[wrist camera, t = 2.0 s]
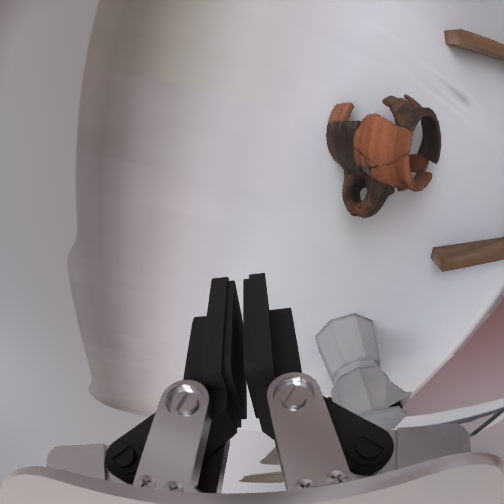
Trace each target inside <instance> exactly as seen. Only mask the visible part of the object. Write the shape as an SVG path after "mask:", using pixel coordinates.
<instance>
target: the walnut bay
mask: <svg viewBox="0 0 504 504" xmlns="http://www.w3.org/2000/svg"><path fill="white" fill-rule="evenodd" d="M444 32H445V41H446V44H449V45H453V46H457V47H461V48H464V49H468V50H471V51H475V52H478V53H481V54H484V55H487V56H490V57H493V58H496V59H499V60H502V61H504V44H502V43H499V42H497V41H494V40H491V39H489V38H486V37H483V36H480V35H477V34H475V33H472V32H468V31H465V30H462V29H459V30H446V31H444ZM431 258H432V260H433V261H434V262H435V263H436V265H437V266H438V267H439V268H440V270H441V271H442V272H443V271H449V270H454V269H459V268H464V267H469V266H474V265H479V264H484V263H489V262H494V261H499V260H503V259H504V237H502V238H496V239H489V240H482V241H476V242H469V243H462V244H455V245H448V246H441V247H434V248H433V251H432V256H431Z"/></svg>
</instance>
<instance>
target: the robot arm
mask: <svg viewBox="0 0 504 504" xmlns="http://www.w3.org/2000/svg"><path fill="white" fill-rule="evenodd" d="M246 381H247V385H248V389H249V393H250V397H251V400H252V404H253V408H254V412H255V416H256V418H259V420H260V424H261V428H262V431H263V432H264V433H265V434H267V435H268V436H269V437H271V438H272V439H274V440H275V444H276V449H277V453H278V457H279V461H280V466H281V470H282V474H283V478H284V482H285V486H286V490H287V491H280V492H267V493H246V494H245V493H243V494H221V490H222V484H223V479H224V473H225V468H226V462H227V457H228V450H229V445H230V438H232V437H233V436H234V435H235V434H236V433H237V428H239V427H241V419H247V390H246ZM0 504H504V461H503V460H502V459H501V458H500V457H498V456H496V455H493V454H490V453H482V452H471V447H470V437H469V434H468V431H467V430H466V429H465V428H464V427H463V426H461V425H459V424H453V423H450V424H442V425H432V426H421V427H405V428H398V429H397V430H384V429H383V428H381V427H379V426H377V425H375V424H374V423H372V422H370V421H368V420H366V419H364V418H362V417H360V416H358V415H357V414H355V413H353V412H351V411H349V410H347V409H345V408H344V407H342V406H340V405H338V404H337V403H335V402H333V401H331V400H329V399H328V398H326V397H324V396H323V395H322V392H321V390H320V387H319V385H318V384H317V382H316V380H314V379H313V378H312V377H311V376H309V375H306V374H304V373H302V370H301V364H300V358H299V352H298V346H297V340H296V334H295V328H294V322H293V317H292V311H291V308H285V309H276V310H269V304H268V295H267V287H266V278H265V273H260V274H251V275H249V279H244V281H243V320H242V315H241V310H240V305H239V300H238V295H237V290H236V285H235V281H229V278H228V277H223V278H213V279H212V281H211V289H210V296H209V304H208V311H207V316H203V317H194V319H193V323H192V329H191V335H190V341H189V347H188V353H187V359H186V366H185V372H184V379H183V380H181V381H177V382H175V383H173V384H171V385H170V386H168V388H167V389H166V390H165V391H164V392H163V394H162V396H161V398H160V401H159V404H158V407H157V410H156V412H155V413H154V414H153V415H151V416H150V417H148V418H147V419H146V420H144V421H143V422H142V423H140V424H139V425H137V426H136V427H135V428H133V429H132V430H130V431H129V432H127V433H126V434H125V435H123V436H122V437H120V438H119V439H117V440H116V441H115V442H113V443H112V444H111V445H108V446H105V445H104V444H91V445H72V446H58V447H55V448H54V449H52V450H51V451H50V453H49V454H48V458H47V467H42V466H32V467H25V468H21V469H18V470H15V471H13V472H11V473H10V474H9V475H8V476H7V477H6V479H5V481H4V482H3V484H2V487H1V490H0Z"/></svg>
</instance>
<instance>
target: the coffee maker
mask: <svg viewBox="0 0 504 504" xmlns="http://www.w3.org/2000/svg"><path fill="white" fill-rule="evenodd" d="M316 340H317V344H318V349H319V352H320V354H321V356H322V359H323V361H324V363H325V365H326V368H327V370H328V372H329V375H330V377H331V379H332V382H333V384H334V388H333V389H332V391H331V392H332V398H331V397H328V399H329V400H331V401H333V402H335V403H337V404H338V405H340V406H342V407H344V408H345V409H347V410H349V411H351V412H353V413H355V414H357V415H358V416H360V417H362V418H364V419H366V420H368V421H370V422H372V423H374V424H375V425H377V426H379V427H381V428H383V429H384V430H391V429H393V428H395V427H396V426H397V425H398V424H399V423H400V421H401V420H402V419H403V418H404V417H405V416H406V415H407V412H406V410H405V409H404V407H405V405H406V403H407V401H408V399H409V397H410V396H411V394H412V392H405V391H403V390H402V389H401V388H399V387H398V386H396V385H395V384H394V383H392V382H391V381H390V380H389V378H388V376H387V375H386V374H385V373H384V372H383V371H382V370H381V368H380V358H379V353H378V347H377V342H376V337H375V332H374V327H373V322H372V320H370V319H368V318H365V317H363V316H360V315H357V314H351V315H348V316H344V317H341V318H337V319H333V320H330V321H329V322H328V323H327V325H326V326H325V327H324V328H323V329H322V330H321V331H320V332H319V333H318V334H317V335H316Z"/></svg>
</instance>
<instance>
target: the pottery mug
mask: <svg viewBox="0 0 504 504" xmlns="http://www.w3.org/2000/svg"><path fill="white" fill-rule="evenodd" d="M404 98H405V99H406V100H405V99H402V98H396V97H394V96H389V97H387V98H384V99H383V101H382V102H383V103H384V104H385V105H386V106H388V107H390V110H391V112H392V113H393V116H394V118H395V122H396V125H395V124H393V123H392V122H391V121H388V120H387V119H385V118H383V117H381V116H380V115H378V114H370V115H367V116H366V117H365V118H364V119H363V121H362V122H361V121H352V122H348V118H349V116H350V113H351V111H352V109H353V108H354V105H353V104H352V103H342V104H337V105H336V106H335V107H334V109H333V110H332V112H331V115H330V118H329V121H328V125H327V134H326V137H327V145H328V149H329V151H330V153H331V155H332V157H333V158H334V160H335V161H337V162H338V163H339V164H340V166H341V167H343V169H344V170H345V171H344V175H345V178H344V184H343V191H342V196H343V201H344V203H345V206H346V208H347V210H348V211H349V212H350V214H351V215H353V216H359V217H362V218H367V217H370V216H373V215H374V214H376V213H377V212H378V211H379V210H380V208H381V207H382V206H383V204H384V202H385V201H386V199H387V197H388V196H390V195H391V194H393V193H394V191H395V190H394V188H397V190H398V191H404V190H406V189H410V190H412V191H421V190H423V188H425V187H426V186H427V185H428V183H429V182H430V181H431V179H432V174H431V173H429V172H426V169H427V165H428V161H429V160H430V161H432V162H434V163H435V164H437V162H438V161H439V156H440V150H441V133H440V127H439V121H438V120H437V117H436V115H435V113H434V112H433V110H431V109H430V108H422V107H421V105H420V104H419V103H417V102H416V101H415V100H414V99H413V98H411V97H410V96H408V95H406V94H405V95H404ZM407 100H408V101H407ZM421 118H422V119H421ZM420 119H421V125H422V131H423V138H422V142H421V145H420V148H419V151H418V154H413V155H409V152H410V145H411V140H412V136H413V131H414V129H415V127H416V125H417V123H418V122H419V120H420ZM367 168H369V174H370V176H369V175H368V174H367V173H366V172H364V171H363V170H362V169H367ZM411 172H417V174H416V175H415V177H414V178H412V175H411ZM365 187H366V188H367V194H366V197H365V199H364V200H363V201H361V199H360V191H361V189H362V188H365Z"/></svg>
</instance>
